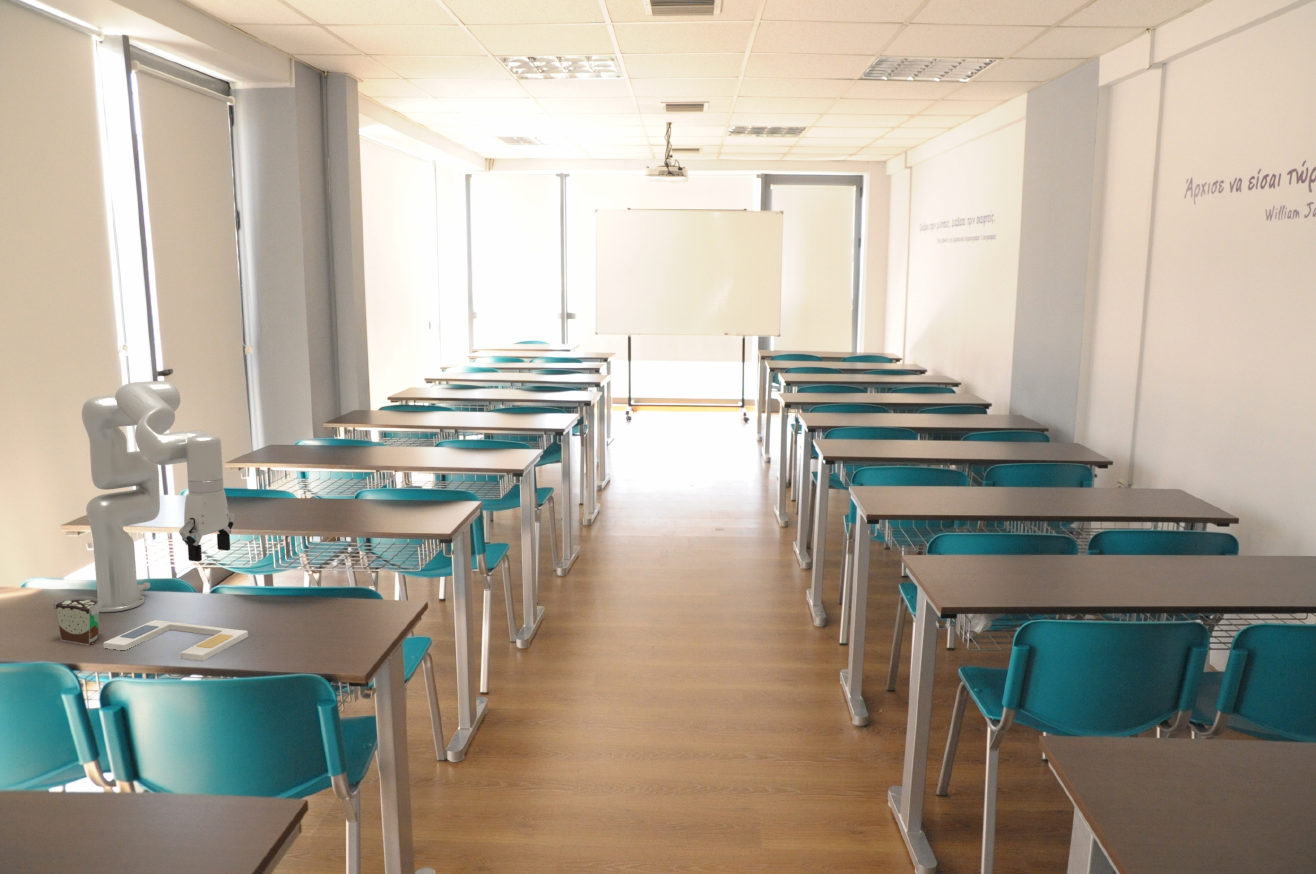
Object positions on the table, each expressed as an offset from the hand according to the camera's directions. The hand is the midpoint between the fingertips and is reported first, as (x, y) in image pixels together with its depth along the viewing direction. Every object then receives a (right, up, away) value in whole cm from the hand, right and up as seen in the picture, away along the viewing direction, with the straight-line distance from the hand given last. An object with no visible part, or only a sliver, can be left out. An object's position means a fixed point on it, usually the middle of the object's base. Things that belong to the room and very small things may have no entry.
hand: (210, 555), depth 213 cm
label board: (-11, -23, +6) cm, 26 cm away
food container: (-35, -22, +7) cm, 42 cm away
